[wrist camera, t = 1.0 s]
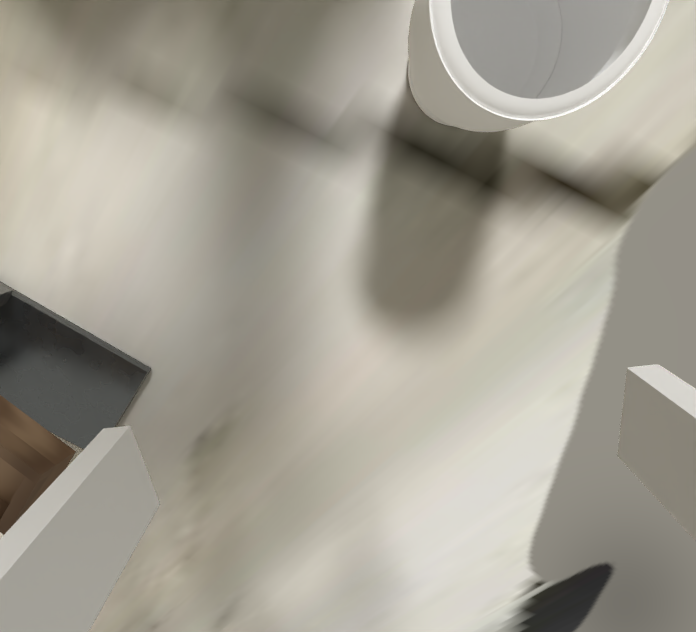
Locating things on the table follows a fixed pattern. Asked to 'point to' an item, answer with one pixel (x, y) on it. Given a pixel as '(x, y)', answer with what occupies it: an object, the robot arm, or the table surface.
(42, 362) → the fulcrum
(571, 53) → the jar
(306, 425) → the table surface
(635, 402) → the robot arm
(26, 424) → the beam
